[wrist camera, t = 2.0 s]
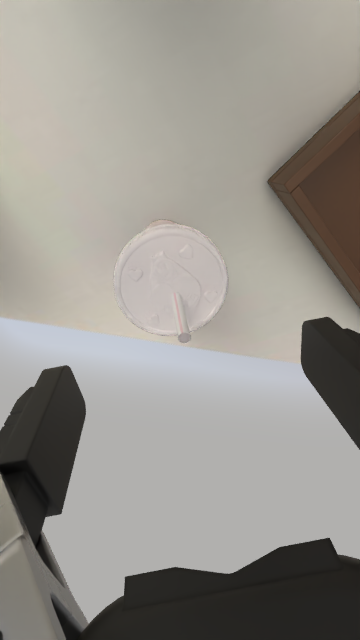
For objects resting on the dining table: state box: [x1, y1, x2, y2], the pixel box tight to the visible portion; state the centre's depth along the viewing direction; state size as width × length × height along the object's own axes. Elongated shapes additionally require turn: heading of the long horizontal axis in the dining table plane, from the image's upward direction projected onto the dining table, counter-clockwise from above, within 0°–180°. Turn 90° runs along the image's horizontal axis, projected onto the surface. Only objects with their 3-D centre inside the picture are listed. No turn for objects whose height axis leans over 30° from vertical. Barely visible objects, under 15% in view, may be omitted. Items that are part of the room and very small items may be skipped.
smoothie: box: [114, 220, 228, 343], centre depth 19 cm, size 6×6×14 cm
